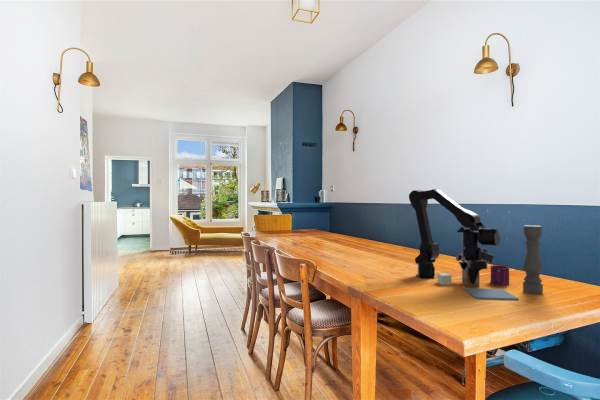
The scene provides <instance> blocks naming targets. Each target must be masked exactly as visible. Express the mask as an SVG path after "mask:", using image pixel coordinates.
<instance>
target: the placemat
mask: <svg viewBox="0 0 600 400" xmlns="http://www.w3.org/2000/svg"><path fill="white" fill-rule="evenodd" d="M463 290H464V291H465V292H467V293H468V294H469V296H472V297H473V299H475V300H495V301H496V300H497V301H499V300H500V301H519V298H518V297H517V296H515V295H514V294H512V293H510V292H508V291H507V290H505V289H504V288H503V289H502V288H475V287H473V288H471V287H469V288H467V287H466V288H465V287H464V289H463Z"/></svg>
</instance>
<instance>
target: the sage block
mask: <svg viewBox="0 0 600 400" xmlns="http://www.w3.org/2000/svg"><path fill="white" fill-rule="evenodd" d="M437 284H439V285H442V286H451V285H452V275H451V274H449V273H447V272H444V273H442V272H441V273H439V272H438V273H437Z"/></svg>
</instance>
